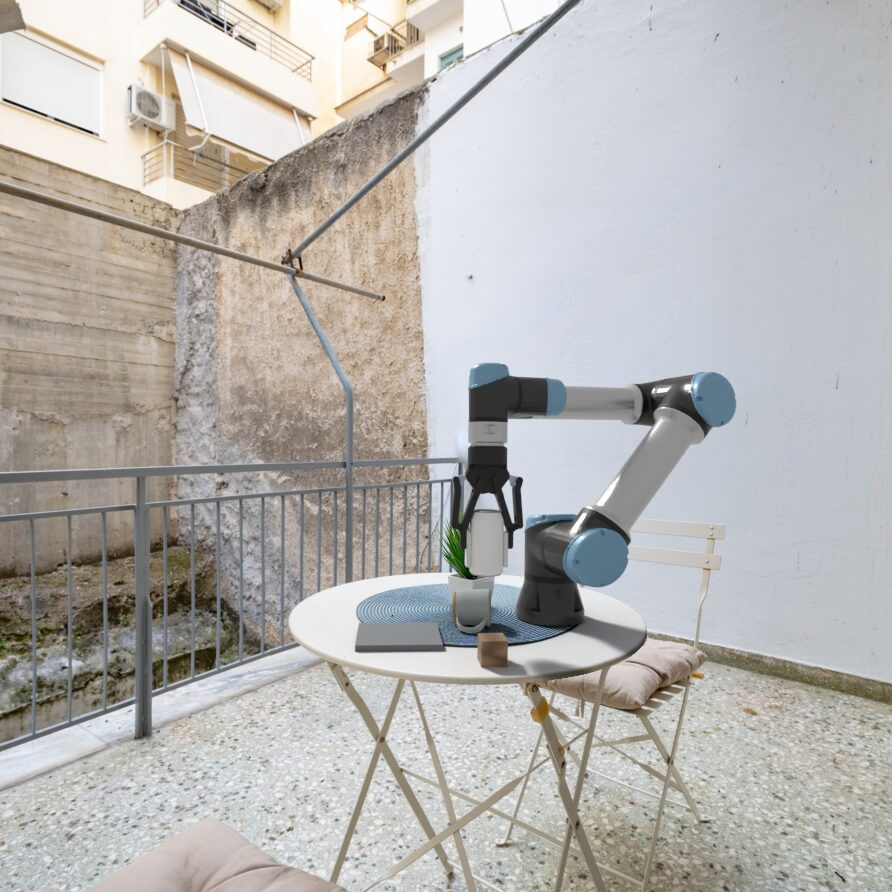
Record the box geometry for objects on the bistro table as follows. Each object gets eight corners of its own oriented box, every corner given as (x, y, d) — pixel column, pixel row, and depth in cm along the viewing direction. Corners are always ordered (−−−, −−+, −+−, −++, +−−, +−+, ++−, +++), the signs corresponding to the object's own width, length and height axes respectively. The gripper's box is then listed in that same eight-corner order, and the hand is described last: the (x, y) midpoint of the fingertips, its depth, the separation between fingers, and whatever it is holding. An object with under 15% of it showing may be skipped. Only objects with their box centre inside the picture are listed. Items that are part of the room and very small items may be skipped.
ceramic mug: (453, 618, 128) (454, 583, 128) (491, 620, 127) (491, 585, 127) (449, 634, 117) (450, 596, 117) (490, 636, 117) (491, 598, 117)
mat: (436, 627, 121) (436, 622, 121) (442, 650, 107) (443, 644, 107) (358, 627, 120) (358, 622, 120) (354, 651, 106) (355, 645, 106)
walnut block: (502, 658, 104) (502, 632, 104) (507, 667, 100) (507, 641, 100) (477, 658, 104) (477, 633, 104) (481, 667, 99) (481, 641, 99)
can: (493, 569, 116) (494, 508, 116) (509, 575, 110) (510, 511, 110) (463, 571, 113) (464, 509, 113) (478, 578, 107) (478, 512, 107)
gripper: (438, 443, 107) (437, 570, 107) (542, 445, 109) (540, 569, 109) (435, 444, 114) (433, 562, 114) (532, 445, 116) (530, 562, 116)
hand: (486, 565), depth 111 cm, fingers closed on can, 6 cm apart
